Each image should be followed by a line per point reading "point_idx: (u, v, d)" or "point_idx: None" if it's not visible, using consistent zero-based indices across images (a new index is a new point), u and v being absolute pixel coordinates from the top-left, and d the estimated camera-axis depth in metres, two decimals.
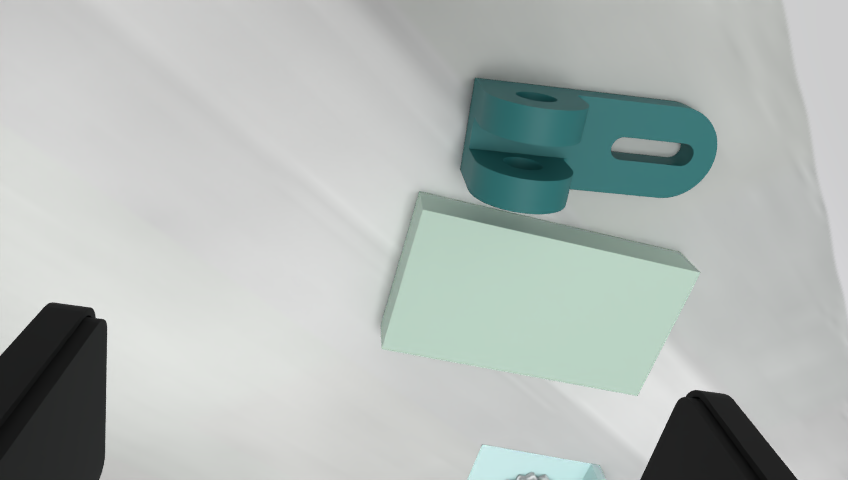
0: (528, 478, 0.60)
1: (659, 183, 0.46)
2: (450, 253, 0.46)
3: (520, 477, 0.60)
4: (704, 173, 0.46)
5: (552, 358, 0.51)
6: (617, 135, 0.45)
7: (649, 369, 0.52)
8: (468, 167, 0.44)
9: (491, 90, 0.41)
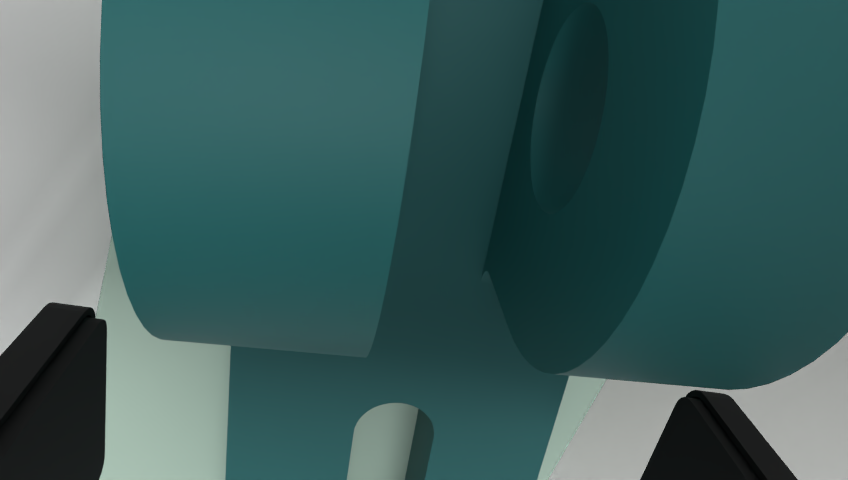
0: None
1: None
2: None
3: None
4: None
5: None
6: (440, 414, 0.13)
7: None
8: None
9: None
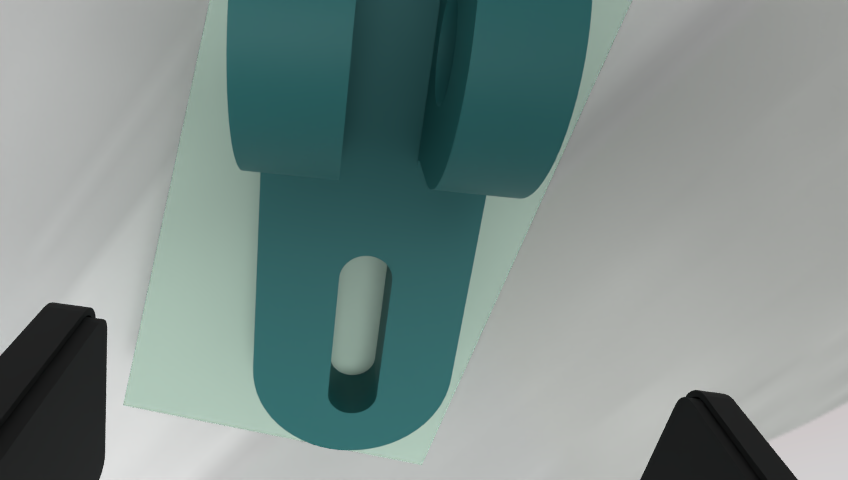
0: None
1: (287, 365, 0.21)
2: None
3: None
4: (313, 440, 0.23)
5: (228, 221, 0.21)
6: (396, 264, 0.20)
7: (197, 417, 0.24)
8: None
9: None
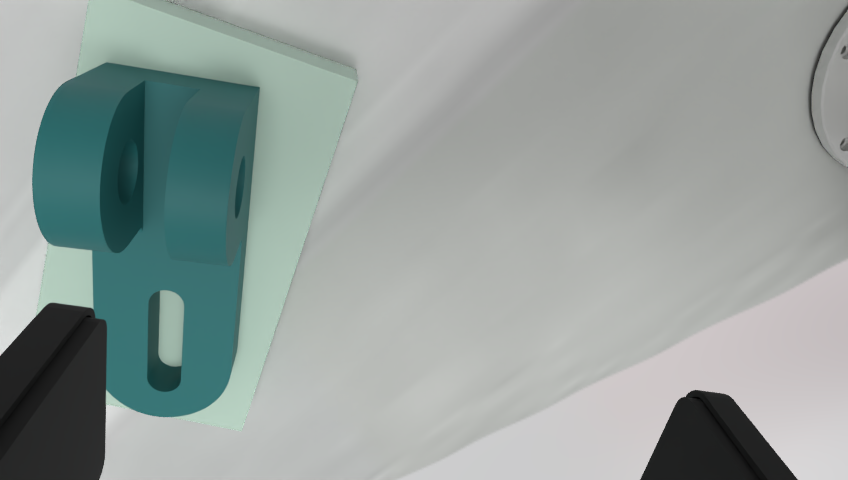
0: None
1: (117, 358, 0.32)
2: (282, 118, 0.30)
3: None
4: (139, 409, 0.34)
5: (88, 267, 0.32)
6: (185, 296, 0.31)
7: None
8: (110, 80, 0.26)
9: (246, 119, 0.26)
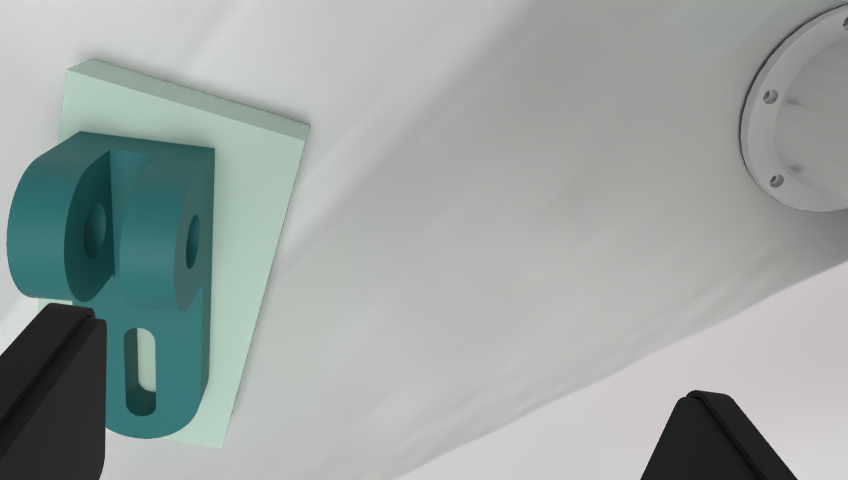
0: None
1: None
2: (239, 175, 0.34)
3: None
4: (120, 431, 0.38)
5: None
6: (155, 332, 0.35)
7: None
8: (78, 152, 0.30)
9: (195, 183, 0.30)
